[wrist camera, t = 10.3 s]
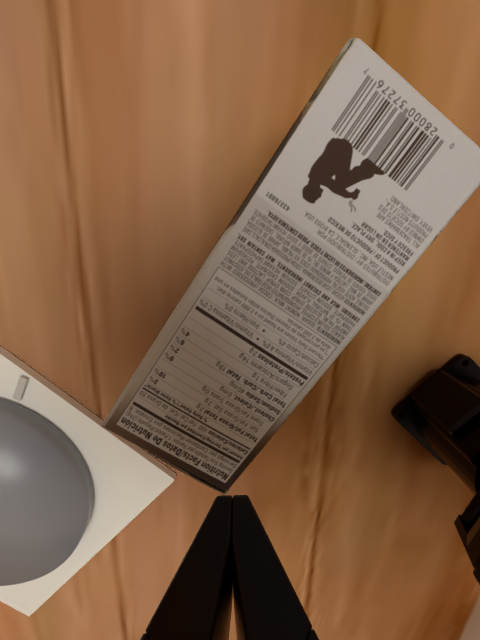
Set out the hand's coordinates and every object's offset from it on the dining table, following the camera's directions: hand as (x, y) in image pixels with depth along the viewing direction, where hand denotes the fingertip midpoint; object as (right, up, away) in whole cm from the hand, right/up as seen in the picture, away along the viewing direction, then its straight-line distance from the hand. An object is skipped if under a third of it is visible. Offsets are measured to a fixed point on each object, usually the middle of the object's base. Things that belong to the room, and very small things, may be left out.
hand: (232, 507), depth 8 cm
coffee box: (+6, +13, +5) cm, 15 cm away
